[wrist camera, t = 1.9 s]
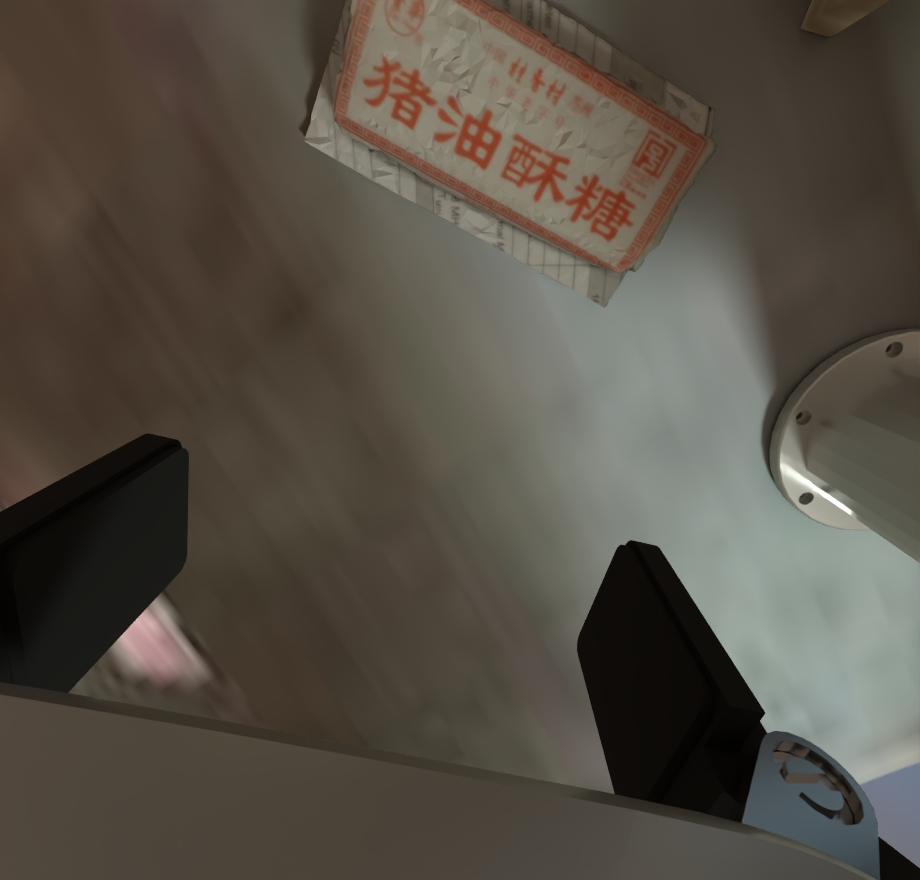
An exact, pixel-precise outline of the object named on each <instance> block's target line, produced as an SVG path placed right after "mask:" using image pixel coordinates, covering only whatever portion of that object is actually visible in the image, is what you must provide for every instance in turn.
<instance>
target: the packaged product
mask: <svg viewBox="0 0 920 880" xmlns="http://www.w3.org/2000/svg"><path fill="white" fill-rule="evenodd" d="M713 120H714V109H713V108H711V107H708V106H706V105H704V104H702V103H700V102H698V101H696V100H695V99H694V98H693V97H692V96H690V95H688V94H686V93H684V92H683V91H681V90H680V89H678V88H677V87H676V86H674V85H673V84H671V83H670V82H669V81H667V80H665V79H663V78H662V77H660V76H659V75H657V74H655V73H654V72H652V71H651V70H649V69H647V68H646V67H644V66H643V65H641V64H640V63H638V62H637V61H635V60H634V59H632V58H630V57H628V56H626V55H625V54H623V53H622V52H621V51H620V50H619V49H617V48H615V47H613V46H611V45H610V44H608V43H607V42H606V41H604V40H603V39H601V38H599V37H598V36H596V35H594V34H593V33H591V32H590V31H589V30H588V29H586V28H585V27H584V26H582V25H581V24H579V23H578V22H576V21H575V20H573V19H571V18H569V17H567V16H565V15H563V14H561V13H560V12H559V11H557V10H556V9H555V8H554V7H552V6H551V5H549V4H548V3H546V2H545V1H543V0H346V1H345V5H344V8H343V12H342V16H341V20H340V24H339V28H338V31H337V34H336V36H335V39H334V42H333V45H332V49H331V52H330V56H329V59H328V62H327V65H326V68H325V71H324V74H323V78H322V81H321V84H320V88H319V91H318V94H317V98H316V102H315V105H314V108H313V111H312V114H311V123H310V126H309V128H308V131H307V134H306V137H305V139H304V141H305V142H306V143H308V144H310V145H312V146H313V147H315V148H317V149H319V150H320V151H322V152H324V153H326V154H327V155H329V156H331V157H333V158H334V159H336V160H338V161H339V162H341V163H343V164H345V165H346V166H348V167H350V168H351V169H353V170H355V171H356V172H358V173H360V174H362V175H363V176H365V177H367V178H368V179H370V180H372V181H374V182H375V183H377V184H379V185H381V186H383V187H385V188H387V189H389V190H391V191H393V192H395V193H397V194H399V195H401V196H402V197H404V198H406V199H408V200H410V201H412V202H414V203H416V204H418V205H420V206H421V207H423V208H425V209H427V210H429V211H431V212H433V213H435V214H437V215H438V216H440V217H442V218H444V219H446V220H448V221H450V222H452V223H453V224H455V225H456V226H458V227H459V228H461V229H463V230H465V231H467V232H468V233H470V234H472V235H474V236H475V237H477V238H479V239H481V240H482V241H484V242H486V243H488V244H491V245H493V246H494V247H495V248H497V249H499V250H502V251H504V252H506V253H508V254H510V255H512V256H514V257H515V258H516V259H518V260H519V261H520V262H522V263H524V264H526V265H528V266H529V267H531V268H533V269H535V270H537V271H539V272H540V273H542V274H544V275H546V276H548V277H549V278H551V279H553V280H555V281H557V282H559V283H561V284H563V285H566V286H568V287H570V288H572V289H574V290H576V291H578V292H580V293H581V294H583V295H584V296H586V297H588V298H589V299H591V300H593V301H594V302H596V303H598V304H599V305H601V306H603V307H606V306H607V304H608V302H609V300H610V298H611V297H612V295H613V294H614V292H615V291H616V289H617V287H618V286H619V284H620V283H621V281H622V279H623V278H624V276H625V274H626V273H627V271H628V270H629V271H633V272H635V271H636V270H637V269H638V268H639V267H640V266H641V265H642V263H643V261H644V259H645V257H646V256H647V254H648V253H649V252H650V251H652V250H653V249H654V248H656V247H657V246H658V245H659V244H660V242H661V240H662V238H663V236H664V234H665V232H666V230H667V228H668V226H669V224H670V222H671V220H672V218H673V216H674V214H675V212H676V210H677V206H678V203H679V202H680V200H681V199H682V198H683V197H684V196H685V194H686V193H687V191H688V190H689V189H690V187H691V186H692V185H693V184H694V182H695V178H696V175H697V174H698V172H699V171H700V169H701V168H702V166H703V165H704V164H705V163H706V162H707V161H708V160H709V159H710V157H711V156H712V155H713V154H714V152H715V150H716V147H717V145H716V144H715V142H714V141H713V140H712V139H710V138H708V137H709V136H710V134H711V133H712V129H713Z"/></svg>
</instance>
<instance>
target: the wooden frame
mask: <svg viewBox="0 0 920 880" xmlns="http://www.w3.org/2000/svg"><path fill="white" fill-rule="evenodd" d="M888 1H890V0H812V1H811V4H810V6H809V9H808V11H807V14H806V16H805V19H804V21H803V23H802V26H801V28H800V29H803V30H806V31H809V32H813V33H816V34H820V35H823V36H826V37H830V38H831V37H832V36H834V35H836V34H837V33H839V32H840V31H842V30H844V29H845V28H847V27H848V26H850V25H852V24H853V23H855V22H856V21H858V20H860V19H861V18H863V17H864V16H866V15H868V14H869V13H871V12H872V11H874V10H876V9H877V8H879V7H880V6H882V5H884V4H885V3H887V2H888Z"/></svg>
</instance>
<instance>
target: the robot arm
mask: <svg viewBox="0 0 920 880" xmlns="http://www.w3.org/2000/svg"><path fill="white" fill-rule="evenodd" d="M769 454H770V469H771V472H772V475H773V478H774V481H775V484H776V486H777V487H778V489H779V490H780V492H781V494H782V495H783V497H784V498H785V499H786V500H787V501H788V502H789V503H790V504H791V505H792V506H794V507H795V508H796V509H797V510H799V511H800V512H801V513H803V514H804V515H806V516H807V517H808V518H810V519H812V520H814V521H816V522H818V523H821V524H823V525H825V526H830V527H834V528H838V529H844V530H873V531H874V532H876V533H877V534H879V535H880V536H881V537H883V538H884V539H886V540H887V541H889V542H890V543H892V544H893V545H894V546H896V547H897V548H899V549H900V550H902V551H903V552H904V553H906V554H907V555H909V556H910V557H912V558H913V559H915V560H916V561H917V562H919V563H920V329H911V328H910V329H903V330H895V331H888V332H884V333H881V334H878V335H874V336H871V337H868V338H865V339H862V340H860V341H858V342H856V343H854V344H852V345H850V346H848V347H846V348H844V349H842V350H840V351H839V352H837V353H836V354H834V355H833V356H831V357H830V358H828V359H827V360H825V361H824V362H822V363H821V364H820V365H819V366H818V367H817V368H815V369H814V370H813V371H812V372H811V373H810V374H809V375H808V376H807V377H805V378H804V379H803V381H802V382H801V383H800V384H799V386H798V387H797V388H796V389H795V390H794V392H793V393H792V394H791V395H790V397H789V398H788V400H787V402H786V404H785V405H784V407H783V409H782V410H781V412H780V414H779V416H778V419H777V421H776V424H775V427H774V430H773V432H772V437H771V444H770V450H769ZM188 471H189V455H188V451H187V450H186V449H184V448H182V446H181V443H180V442H179V441H178V440H176V439H171V438H167V437H162V436H158V435H153V434H144V435H142V436H140V437H138V438H137V439H135V440H133V441H131V442H129V443H127V444H125V445H124V446H122V447H120V448H118V449H116V450H114V451H112V452H111V453H109V454H107V455H105V456H103V457H101V458H99V459H98V460H96V461H94V462H92V463H90V464H88V465H86V466H85V467H83V468H81V469H79V470H77V471H75V472H74V473H72V474H70V475H68V476H66V477H64V478H62V479H61V480H59V481H57V482H55V483H53V484H51V485H49V486H48V487H46V488H44V489H42V490H40V491H38V492H36V493H35V494H33V495H31V496H29V497H27V498H25V499H23V500H22V501H20V502H18V503H16V504H14V505H12V506H10V507H9V508H7V509H5V510H3V511H1V512H0V880H920V868H919V867H917V866H916V865H915V864H913V863H912V862H911V861H910V860H908V859H907V858H906V857H904V856H903V855H902V854H900V853H899V852H898V851H897V850H895V849H894V848H893V847H891V846H890V845H889V844H887V843H886V842H885V841H884V840H882V839H881V838H880V837H878V822H877V819H876V814H875V811H874V808H873V806H872V804H871V803H870V801H869V799H868V797H867V795H866V793H865V792H864V791H863V789H862V788H861V787H860V785H859V784H858V783H857V782H856V780H855V779H854V778H853V777H852V775H850V774H849V773H848V772H847V771H846V770H845V769H844V768H843V767H842V766H841V765H840V764H839V763H838V762H837V761H836V760H835V759H833V758H832V757H831V756H830V755H828V754H827V753H826V752H824V751H823V750H822V749H820V748H819V747H817V746H816V745H814V744H812V743H810V742H809V741H807V740H805V739H804V738H801V737H799V736H796V735H793V734H791V733H788V732H780V731H774V732H771V733H768V734H767V732H766V730H765V729H764V727H763V726H762V724H761V722H760V720H761V719H762V717H763V716H764V714H765V712H764V710H763V709H762V707H761V705H760V704H759V702H758V701H757V699H756V698H755V696H754V694H753V693H752V691H751V690H750V688H749V687H748V685H747V684H746V682H745V680H744V679H743V677H742V676H741V674H740V673H739V671H738V670H737V668H736V666H735V665H734V663H733V662H732V660H731V659H730V657H729V656H728V654H727V652H726V651H725V649H724V648H723V646H722V645H721V643H720V642H719V640H718V638H717V637H716V635H715V634H714V632H713V631H712V629H711V628H710V626H709V624H708V623H707V621H706V620H705V618H704V617H703V615H702V614H701V612H700V610H699V609H698V607H697V606H696V604H695V603H694V601H693V599H692V598H691V596H690V595H689V593H688V592H687V590H686V589H685V587H684V585H683V584H682V582H681V581H680V579H679V578H678V576H677V575H676V573H675V571H674V570H673V568H672V567H671V565H670V564H669V562H668V561H667V559H666V557H665V556H664V554H663V553H662V551H661V550H660V548H659V547H658V546H655V545H651V544H646V543H642V542H637V541H632V540H631V541H628V542H627V543H626V545H620V546H619V547H618V548H617V550H616V551H615V554H614V556H613V558H612V561H611V563H610V565H609V568H608V570H607V572H606V574H605V577H604V579H603V581H602V584H601V586H600V588H599V591H598V593H597V595H596V597H595V600H594V602H593V604H592V607H591V609H590V611H589V613H588V616H587V618H586V620H585V623H584V625H583V627H582V630H581V632H580V634H579V637H578V642H577V652H578V657H579V660H580V664H581V668H582V672H583V676H584V679H585V683H586V687H587V691H588V694H589V698H590V702H591V706H592V710H593V713H594V717H595V721H596V725H597V728H598V732H599V736H600V740H601V744H602V747H603V751H604V755H605V759H606V762H607V766H608V770H609V774H610V778H611V781H612V785H613V789H614V793H615V794H611V793H606V792H601V791H596V790H591V789H585V788H580V787H575V786H570V785H564V784H559V783H554V782H549V781H544V780H538V779H533V778H528V777H523V776H517V775H512V774H507V773H502V772H496V771H491V770H486V769H481V768H475V767H470V766H465V765H460V764H455V763H449V762H444V761H439V760H433V759H428V758H423V757H417V756H412V755H406V754H401V753H396V752H390V751H385V750H379V749H374V748H369V747H363V746H358V745H353V744H347V743H342V742H336V741H331V740H325V739H320V738H315V737H309V736H304V735H298V734H293V733H287V732H282V731H276V730H271V729H266V728H260V727H255V726H249V725H244V724H238V723H233V722H227V721H221V720H216V719H210V718H205V717H199V716H193V715H188V714H182V713H177V712H171V711H165V710H160V709H154V708H149V707H143V706H137V705H132V704H126V703H121V702H115V701H109V700H104V699H98V698H93V697H87V696H81V695H76V694H70V693H68V692H69V691H70V690H71V689H72V688H73V687H74V686H75V685H76V683H77V682H78V681H79V680H80V679H81V678H82V677H83V676H84V675H85V674H86V673H87V672H88V671H89V669H90V668H91V667H92V666H93V665H94V664H95V663H96V662H97V661H98V660H99V659H100V658H101V657H102V655H103V654H104V653H105V652H106V651H107V650H108V649H109V648H110V647H111V646H112V645H113V644H114V643H115V641H116V640H117V639H118V638H119V637H120V636H121V635H122V634H123V633H124V632H125V631H126V630H127V629H128V628H129V626H130V625H131V624H132V623H133V622H134V621H135V620H136V619H137V618H138V617H139V616H140V615H141V614H142V612H143V611H144V610H145V609H146V608H147V607H148V606H149V605H150V604H151V603H152V602H153V601H154V600H155V598H156V597H157V596H158V595H159V594H160V593H161V592H162V591H163V590H164V589H165V588H166V587H167V586H168V584H169V583H170V582H171V581H172V580H173V579H174V578H175V577H176V576H177V575H178V574H179V572H180V571H181V570H182V568H183V566H184V564H185V562H186V558H187V529H188Z"/></svg>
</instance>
